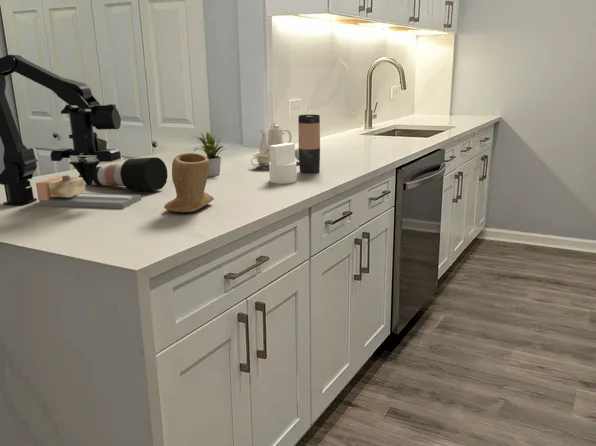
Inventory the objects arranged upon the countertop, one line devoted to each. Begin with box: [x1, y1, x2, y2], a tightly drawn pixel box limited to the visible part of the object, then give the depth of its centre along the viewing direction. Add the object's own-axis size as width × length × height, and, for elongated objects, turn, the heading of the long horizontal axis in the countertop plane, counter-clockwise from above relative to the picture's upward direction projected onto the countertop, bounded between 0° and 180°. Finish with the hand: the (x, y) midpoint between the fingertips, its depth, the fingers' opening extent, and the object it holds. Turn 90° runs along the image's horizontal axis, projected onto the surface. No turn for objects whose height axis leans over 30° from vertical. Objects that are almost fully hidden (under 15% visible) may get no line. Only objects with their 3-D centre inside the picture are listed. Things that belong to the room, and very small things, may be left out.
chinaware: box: [250, 121, 299, 170], centre depth 209 cm, size 28×17×17 cm, turn 132°
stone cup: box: [163, 152, 215, 213], centre depth 145 cm, size 15×12×15 cm
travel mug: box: [297, 114, 321, 175], centre depth 192 cm, size 8×8×20 cm
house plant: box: [188, 130, 227, 177], centre depth 191 cm, size 14×14×16 cm
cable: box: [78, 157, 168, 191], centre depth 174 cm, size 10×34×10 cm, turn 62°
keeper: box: [49, 174, 86, 197], centre depth 156 cm, size 6×8×5 cm
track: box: [35, 175, 142, 209], centre depth 155 cm, size 26×10×6 cm, turn 78°
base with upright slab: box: [269, 142, 298, 184], centre depth 179 cm, size 9×9×12 cm
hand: (89, 185), depth 154 cm, fingers closed
